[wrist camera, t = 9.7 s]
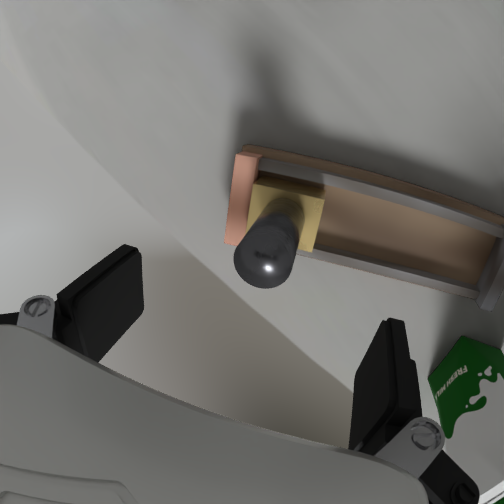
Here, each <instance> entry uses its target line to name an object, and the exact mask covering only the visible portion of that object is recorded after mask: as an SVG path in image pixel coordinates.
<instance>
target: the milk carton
mask: <svg viewBox="0 0 504 504" xmlns="http://www.w3.org/2000/svg"><path fill="white" fill-rule="evenodd" d="M428 381H429V384H430V387H431V390H432V393H433V396H434V399H435V403H436V406H437V409H438V413H439V418H440V424H441V428H442V430H443V432H444V435H445V444H444V449H445V453H446V454H447V455H448V456H449V457H450V458H451V459H452V460H453V461H454V462H455V463H456V464H457V465H458V466H459V467H460V468H461V469H462V470H463V471H464V472H465V473H466V474H467V475H468V476H469V477H470V478H471V479H472V480H473V481H474V482H475V483H476V484H477V486H478V489H479V493H480V498H479V503H478V504H504V355H503V353H502V351H501V350H500V349H497V348H494V347H492V346H489V345H486V344H484V343H481V342H478V341H475V340H473V339H470V338H467V337H465V336H461V337H460V339H459V340H458V342H457V343H456V344H455V346H454V347H453V348H452V349H451V351H450V352H449V353H448V355H447V356H446V357H445V358H444V360H443V361H442V362H441V363H440V365H439V366H438V367H437V368H436V369H435V371H434V372H433V373H432V374H431V375H430V377H429V378H428Z"/></svg>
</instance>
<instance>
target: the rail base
mask: <svg viewBox="0 0 504 504" xmlns="http://www.w3.org/2000/svg"><path fill="white" fill-rule="evenodd" d="M261 176H266V177H271V178H276V179H280V180H285V181H289V182H294V183H298V184H303V185H307V186H311V187H316V188H320V189H324V190H326V193H325V201H324V206H323V210H322V214H321V218H320V222H319V226H318V230H317V234H316V238H315V242H314V246H313V250H312V252H308V251H304V250H300V249H297V252H296V254H297V255H301V256H305V257H309V258H313V259H317V260H321V261H325V262H330V263H334V264H338V265H342V266H346V267H350V268H354V269H358V270H362V271H365V272H369V273H373V274H377V275H381V276H385V277H389V278H393V279H397V280H401V281H405V282H409V283H413V284H417V285H421V286H425V287H429V288H432V289H436V290H440V291H444V292H448V293H452V294H456V295H460V296H464V297H467V298H471V299H475V301H476V303H477V305H478V306H479V308H480V309H483V310H487V311H491V312H492V310H493V308H494V306H495V305H496V303H497V301H498V299H499V297H500V295H501V293H502V291H503V289H504V217H502V216H500V215H498V214H495V213H493V212H490V211H488V210H485V209H482V208H480V207H477V206H475V205H472V204H469V203H467V202H464V201H461V200H458V199H456V198H453V197H450V196H447V195H444V194H441V193H438V192H435V191H432V190H429V189H426V188H423V187H420V186H417V185H414V184H411V183H408V182H404V181H401V180H398V179H394V178H391V177H387V176H384V175H381V174H377V173H373V172H370V171H366V170H362V169H359V168H355V167H351V166H347V165H343V164H339V163H335V162H331V161H327V160H323V159H318V158H314V157H309V156H305V155H300V154H296V153H291V152H286V151H281V150H276V149H271V148H266V147H261V146H255V145H249V144H247V145H244V146H243V147H242V152H240V153H238V154H236V157H235V164H234V171H233V178H232V185H231V193H230V200H229V208H228V215H227V223H226V231H225V239H224V243H226V244H230V245H234V246H238V244H239V243H240V242H241V240H242V239H243V237H244V236H245V233H246V227H247V220H248V214H249V208H250V201H251V195H252V189H253V184H254V183H255V182H256V181H257V180H258V179H259V178H260V177H261Z"/></svg>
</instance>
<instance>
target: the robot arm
mask: <svg viewBox="0 0 504 504" xmlns="http://www.w3.org/2000/svg"><path fill="white" fill-rule="evenodd" d="M143 310H144V299H143V281H142V257H141V253H140V252H139V251H138V249H137V248H136V247H133V246H129V245H126V244H124V245H122V246H120V247H119V248H118V249H116V250H115V251H113V252H112V253H111V254H109V255H108V256H106V257H105V258H104V259H102V260H101V261H100V262H98V263H97V264H96V265H94V266H93V267H92V268H90V269H89V270H88V271H86V272H85V273H84V274H82V275H81V276H80V277H78V278H77V279H76V280H74V281H73V282H72V283H71V284H69V285H68V286H67V287H65V288H64V289H63V290H62V291H60V292H59V293H58V294H57V300H56V301H55V302H54V300H53V299H52V298H50V297H49V296H45V295H37V296H33V297H31V298H29V299H27V300H26V301H25V302H24V303H23V304H22V306H21V308H20V312H17V313H16V312H15V313H8V314H0V504H478V503H479V498H480V493H479V489H478V486H477V484H476V483H475V482H474V481H473V480H472V479H471V478H470V477H469V476H468V475H467V474H466V473H465V472H464V471H463V470H462V469H461V468H460V467H459V466H458V465H457V464H456V463H455V462H454V461H453V460H452V459H451V458H450V457H449V456H448V455H447V454H446V453H445V452H444V451H443V450H442V448H443V446H444V444H445V435H444V432H443V430H442V428H441V427H440V425H439V424H438V423H437V422H435V421H434V420H432V419H430V418H427V417H422V408H421V399H420V391H419V383H418V376H417V369H416V363H415V361H414V360H411V359H410V353H409V347H408V341H407V335H406V329H405V323H404V321H402V320H398V319H394V318H388V319H387V321H385V320H383V321H382V322H381V324H380V326H379V328H378V330H377V332H376V334H375V336H374V338H373V340H372V342H371V344H370V346H369V348H368V350H367V352H366V354H365V356H364V358H363V360H362V362H361V364H360V366H359V367H358V369H357V371H356V374H355V379H354V393H353V407H352V408H353V409H352V419H351V429H350V440H349V448H348V449H345V448H341V447H336V446H332V445H327V444H322V443H318V442H313V441H309V440H306V439H302V438H297V437H293V436H290V435H286V434H282V433H278V432H275V431H271V430H267V429H264V428H261V427H257V426H254V425H250V424H247V423H244V422H241V421H238V420H235V419H231V418H229V417H226V416H223V415H220V414H217V413H214V412H211V411H208V410H205V409H203V408H200V407H197V406H194V405H192V404H189V403H187V402H184V401H182V400H179V399H177V398H174V397H171V396H169V395H167V394H164V393H162V392H160V391H157V390H155V389H153V388H150V387H148V386H146V385H143V384H141V383H139V382H137V381H134V380H132V379H130V378H128V377H126V376H124V375H122V374H120V373H117V372H115V371H113V370H111V369H109V368H107V367H105V366H103V365H101V364H99V363H98V362H99V361H100V360H101V359H102V358H103V356H104V355H105V354H106V353H107V352H108V351H109V350H110V349H111V348H112V346H113V345H114V344H115V343H116V342H117V341H118V339H120V338H121V336H122V335H123V334H124V333H125V332H126V330H128V329H129V328H130V326H131V325H132V324H133V323H134V322H135V321H136V320H137V319H138V318H139V317H140V315H141V314H142V312H143Z"/></svg>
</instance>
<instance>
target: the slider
mask: <svg viewBox="0 0 504 504" xmlns="http://www.w3.org/2000/svg"><path fill="white" fill-rule="evenodd" d="M325 193H326V190H324V189H320V188H316V187H311V186H307V185H303V184H298V183H294V182H289V181H285V180H280V179H276V178H271V177H266V176H261V177H260V178H259V179H258V180H257V181H256V182H255V183H254V184H253V189H252V195H251V201H250V208H249V214H248V220H247V227H246V233H245V236H244V237H243V239H242V240H241V242H240V243H239V244H238V246H237V248H236V250H235V252H234V265H235V268H236V271H237V272H238V274H239V275H240V277H241V278H242V279H243V280H244V281H246V282H247V283H248V284H250V285H252V286H255V287H258V288H274V287H277V286H279V285H281V284H282V283H283V282H285V281H286V280H287V278H288V277H289V275H290V273H291V270H292V266H293V263H294V259H295V256H296V252H297V249H300V250H304V251H308V252H312V250H313V246H314V242H315V238H316V234H317V230H318V226H319V222H320V218H321V214H322V210H323V206H324V201H325Z"/></svg>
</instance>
